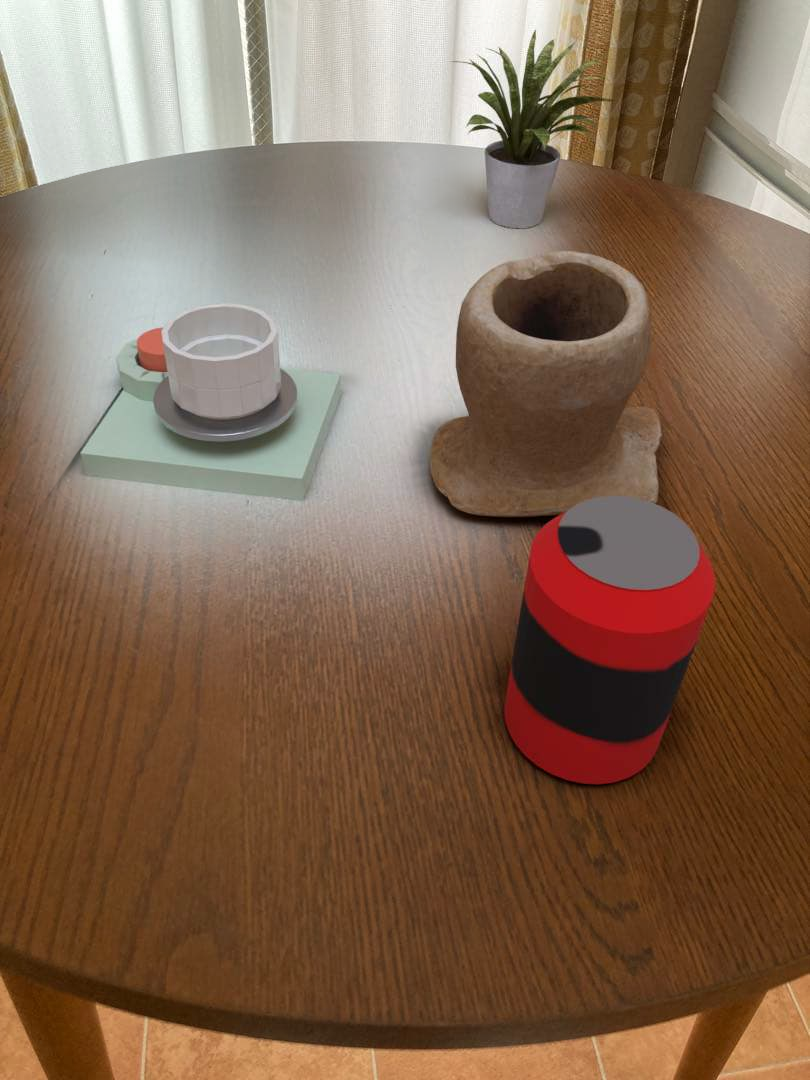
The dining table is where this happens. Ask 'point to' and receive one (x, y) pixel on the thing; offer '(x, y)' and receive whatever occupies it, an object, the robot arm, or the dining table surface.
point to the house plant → (526, 136)
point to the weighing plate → (225, 429)
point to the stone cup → (549, 390)
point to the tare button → (152, 351)
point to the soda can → (605, 637)
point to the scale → (224, 466)
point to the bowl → (222, 360)
